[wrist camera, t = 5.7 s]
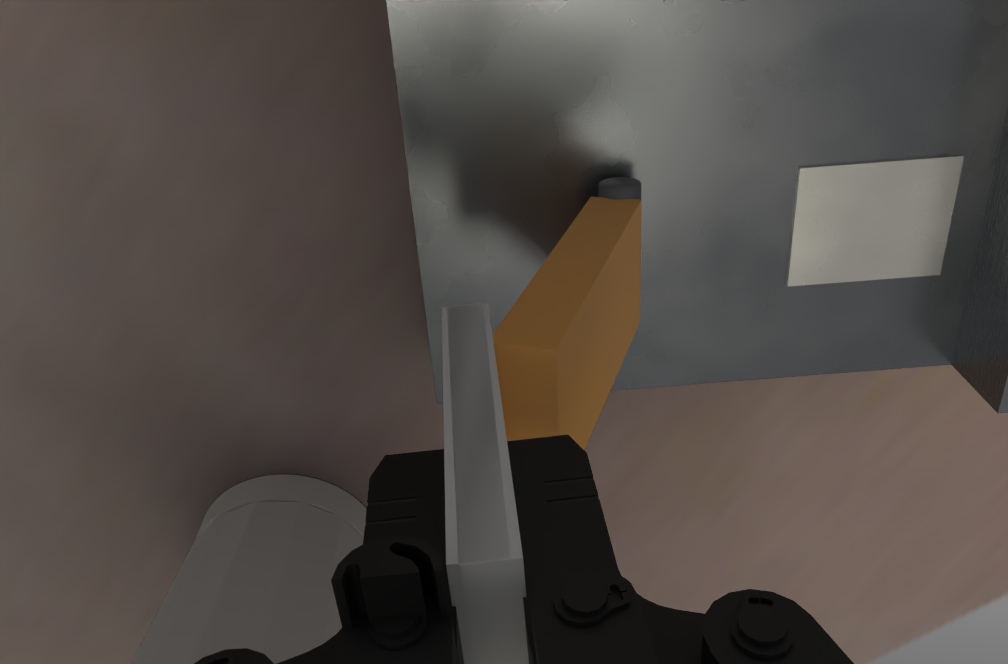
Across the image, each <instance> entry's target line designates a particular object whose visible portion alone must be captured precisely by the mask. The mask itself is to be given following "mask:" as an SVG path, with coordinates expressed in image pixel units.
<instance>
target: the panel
mask: <svg viewBox="0 0 1008 664" xmlns="http://www.w3.org/2000/svg"><path fill="white" fill-rule="evenodd" d="M386 4H387V12H388V20H389V28H390V36H391V43H392V51H393V59H394V67H395V75H396V83H397V91H398V99H399V107H400V115H401V123H402V131H403V139H404V147H405V155H406V163H407V171H408V179H409V186H410V194H411V202H412V210H413V218H414V226H415V234H416V242H417V250H418V258H419V266H420V274H421V282H422V290H423V298H424V306H425V314H426V322H427V329H428V337H429V345H430V353H431V361H432V369H433V377H434V385H435V393H436V401H437V404H441V403H443V349H442V307H452V306H462V305H472V304H482V303H483V304H487V303H488V307H489V314H490V322H491V329H492V334H493V333H494V332H495V330H496V329H497V327H498V326H499V325H500V323H501V322H502V320H503V319H504V318H505V316H506V315H507V313H508V312H509V311H510V309H511V308H512V306H513V305H514V304H515V302H516V301H517V299H518V298H519V297H520V295H521V294H522V292H523V291H524V290H525V288H526V287H527V285H528V284H529V283H530V281H531V280H532V278H533V277H534V276H535V274H536V273H537V271H538V270H539V269H540V267H541V266H542V264H543V263H544V262H545V260H546V259H547V257H548V256H549V255H550V253H551V252H552V250H553V249H554V248H555V246H556V245H557V243H558V242H559V241H560V239H561V238H562V236H563V235H564V234H565V232H566V231H567V229H568V228H569V227H570V225H571V224H572V222H573V221H574V220H575V218H576V217H577V215H578V214H579V213H580V211H581V210H582V208H583V207H584V206H585V204H586V203H587V201H588V200H589V199H590V197H599V183H600V182H601V181H602V180H605V179H608V178H613V177H630V178H635V179H637V180H639V181H640V182H641V200H642V218H641V296H640V323H639V325H638V328H637V330H636V332H635V335H634V337H633V339H632V342H631V344H630V346H629V348H628V351H627V353H626V355H625V358H624V360H623V362H622V365H621V367H620V369H619V372H618V374H617V376H616V378H615V381H614V383H613V385H612V388H611V390H624V389H637V388H650V387H663V386H676V385H690V384H703V383H716V382H729V381H742V380H755V379H768V378H781V377H794V376H807V375H820V374H834V373H847V372H860V371H873V370H886V369H899V368H912V367H925V366H938V365H952V366H953V367H954V368H955V369H956V370H957V371H958V372H959V373H960V374H961V375H962V376H963V377H964V378H965V379H966V380H967V382H968V383H969V384H970V385H971V386H972V387H973V388H974V389H975V390H976V391H977V392H978V393H979V394H980V395H981V396H982V397H983V398H984V399H985V400H986V401H987V402H988V403H989V405H990V406H991V407H992V408H993V409H994V410H995V411H996V412H997V413H1008V0H386ZM611 390H610V391H611Z"/></svg>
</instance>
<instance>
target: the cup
mask: <svg viewBox="0 0 1008 664" xmlns="http://www.w3.org/2000/svg"><path fill="white" fill-rule="evenodd" d="M366 510H367V509H366V508H365V507H364V506H363V505H362V504H361V503H360V502H359V501H358V500H357V499H356V498H354V497H353V496H352V495H350V494H349V493H347V492H346V491H344V490H342V489H341V488H339V487H337V486H335V485H332V484H330V483H327V482H325V481H322V480H319V479H315V478H311V477H306V476H300V475H288V474H279V475H268V476H262V477H257V478H253V479H250V480H247V481H244V482H242V483H239V484H237V485H235V486H233V487H231V488H230V489H228V490H227V491H225V492H224V493H223V494H221V495H220V496H219V497H218V498H217V499H216V500H215V501H214V502H213V503H212V505H211V506H210V507H209V509H208V511H207V512H206V514H205V516H204V519H203V521H202V524H201V526H200V529H199V531H198V534H197V536H196V539H195V541H194V543H193V545H192V547H191V549H190V551H189V553H188V555H187V557H186V559H185V561H184V562H183V564H182V566H181V568H180V570H179V572H178V574H177V576H176V578H175V580H174V582H173V584H172V585H171V587H170V589H169V591H168V593H167V595H166V597H165V599H164V601H163V603H162V605H161V607H160V609H159V610H158V612H157V614H156V616H155V618H154V620H153V622H152V624H151V626H150V628H149V630H148V632H147V634H146V635H145V637H144V639H143V641H142V643H141V645H140V647H139V649H138V651H137V653H136V655H135V657H134V658H133V660H132V662H131V664H194V663H196V662H197V661H199V660H200V659H202V658H203V657H206V656H208V655H211V654H214V653H217V652H220V651H222V650H225V649H242V648H248V649H251V650H254V651H257V652H260V653H263V654H265V655H266V656H267V657H268V658H269V659H270V660H271V661H272V662H273V663H274V664H277V663H280V662H282V661H285V660H287V659H290V658H293V657H295V656H298V655H300V654H303V653H306V652H308V651H310V650H312V649H314V648H316V647H318V646H320V645H322V644H323V643H325V642H326V641H328V640H329V639H330V638H332V637H333V636H334V635H336V634H337V633H338V632H339V631H340V629H341V628H342V625H341V621H340V616H339V612H338V608H337V604H336V600H335V596H334V591H333V587H332V583H331V579H332V577H333V574H334V572H335V570H336V568H337V565H338V564H339V563H340V562H341V561H342V560H343V559H344V558H345V557H346V556H347V555H348V554H349V553H350V552H351V551H352V550H354V549H355V548H357V547H359V546H361V545H363V539H364V529H365V526H366V522H365V520H366Z"/></svg>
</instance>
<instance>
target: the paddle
mask: <svg viewBox="0 0 1008 664" xmlns="http://www.w3.org/2000/svg"><path fill="white" fill-rule="evenodd" d="M641 218H642V200H641V182H640V181H639V180H637V179H635V178H630V177H613V178H608V179H605V180H602V181H601V182H600V183H599V197H590V199H589V200H588V201H587V203H586V204H585V206H584V207H583V208H582V210H581V211H580V213H579V214H578V215H577V217H576V218H575V220H574V221H573V222H572V224H571V225H570V227H569V228H568V229H567V231H566V232H565V234H564V235H563V236H562V238H561V239H560V241H559V242H558V243H557V245H556V246H555V248H554V249H553V250H552V252H551V253H550V255H549V256H548V257H547V259H546V260H545V262H544V263H543V264H542V266H541V267H540V269H539V270H538V271H537V273H536V274H535V276H534V277H533V278H532V280H531V281H530V283H529V284H528V285H527V287H526V288H525V290H524V291H523V292H522V294H521V295H520V297H519V298H518V299H517V301H516V302H515V304H514V305H513V306H512V308H511V309H510V311H509V312H508V313H507V315H506V316H505V318H504V319H503V320H502V322H501V323H500V325H499V326H498V327H497V329H496V330H495V332H494V333H493V334H492V336H493V343H494V351H495V358H496V365H497V372H498V380H499V387H500V394H501V401H502V409H503V416H504V423H505V430H506V438H507V441H513V440H523V439H532V438H541V437H550V436H559V435H569V436H570V437H571V438H572V439H573V440H574V441H575V442H576V443H577V444H578V445H579V446H580V447H581V448H582V449H583V450H585V448H586V445H587V443H588V441H589V438H590V436H591V434H592V431H593V429H594V427H595V425H596V422H597V420H598V418H599V415H600V413H601V411H602V408H603V406H604V404H605V401H606V399H607V397H608V395H609V392H610V390H611V388H612V385H613V383H614V381H615V378H616V376H617V374H618V372H619V369H620V367H621V365H622V362H623V360H624V358H625V355H626V353H627V351H628V348H629V346H630V344H631V342H632V339H633V337H634V335H635V332H636V330H637V328H638V325H639V323H640V296H641Z"/></svg>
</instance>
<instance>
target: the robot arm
mask: <svg viewBox="0 0 1008 664" xmlns="http://www.w3.org/2000/svg"><path fill="white" fill-rule="evenodd" d="M442 349H443V409H444V449H441V450H432V451H422V452H412V453H403V454H393V455H385V456H384V458H383V459H382V461H381V462H380V464H379V465H378V467H377V468H376V470H375V471H374V472H373V474H372V475H371V477H370V481H369V491H368V500H367V502H368V506H367V510H366V520H365V522H366V526H365V529H364V539H363V545H361V546H359V547H357V548H355V549H354V550H352V551H351V552H350V553H349V554H348V555H347V556H346V557H345V558H344V559H343V560H342V561H341V562H340V563H339V564H338V565H337V568H336V570H335V572H334V574H333V577H332V579H331V583H332V587H333V591H334V596H335V600H336V604H337V608H338V612H339V616H340V621H341V625H342V628H341V629H340V631H339V632H338V633H337V634H336V635H334V636H333V637H332V638H330V639H329V640H328V641H326V642H325V643H323V644H322V645H320V646H318V647H316V648H314V649H312V650H310V651H308V652H306V653H303V654H300V655H298V656H295V657H293V658H290V659H287V660H285V661H282V662H280V663H277V664H854V663H853V662H852V661H851V660H850V659H849V658H848V657H847V655H846V654H845V653H844V652H843V651H842V650H841V649H840V647H839V646H838V645H837V644H836V643H835V642H834V641H833V640H832V638H831V637H830V636H829V635H828V634H827V633H826V632H825V631H824V629H823V628H822V627H821V626H820V625H819V624H818V623H817V621H816V620H815V619H814V618H813V617H812V616H811V615H810V614H809V613H808V612H807V611H805V610H804V609H803V608H802V607H800V606H799V605H798V604H797V603H796V602H794V601H793V600H790V599H788V598H785V597H783V596H781V595H778V594H776V593H774V592H768V591H760V590H753V589H748V590H742V591H736V592H730V593H728V594H726V595H725V596H723V597H721V598H719V599H718V600H716V601H714V602H713V603H712V605H711V606H710V608H709V609H708V611H707V612H706V614H702V613H695V612H689V611H682V610H676V609H672V608H667V607H663V606H659V605H657V604H655V603H653V602H650V601H648V600H646V599H644V598H642V597H641V596H640V595H638V594H637V593H636V591H635V590H634V588H633V586H632V585H631V583H630V582H629V581H628V580H626V579H625V578H623V577H622V576H621V574H620V572H619V569H618V567H617V563H616V560H615V556H614V552H613V548H612V545H611V541H610V537H609V534H608V530H607V526H606V523H605V519H604V515H603V511H602V508H601V504H600V500H599V499H598V493H597V489H596V485H595V482H594V480H593V474H592V471H591V467H590V463H589V460H588V456H587V453H586V452H585V451H584V450H583V449H582V448H581V447H580V446H579V445H578V444H577V443H576V442H575V441H574V440H573V439H572V438H571V437H570V436H569V435H559V436H550V437H541V438H532V439H523V440H513V441H507V438H506V430H505V423H504V416H503V409H502V401H501V394H500V387H499V380H498V372H497V365H496V358H495V351H494V343H493V336H492V329H491V322H490V314H489V307H488V303H487V304H483V303H482V304H472V305H462V306H452V307H442ZM194 664H274V663H273V662H272V661H271V660H270V659H269V658H268V657H267V656H266V655H265V654H263V653H260V652H257V651H254V650H251V649H248V648H242V649H225V650H222V651H220V652H217V653H214V654H211V655H208V656H206V657H203V658H202V659H200V660H199V661H197V662H196V663H194Z"/></svg>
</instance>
